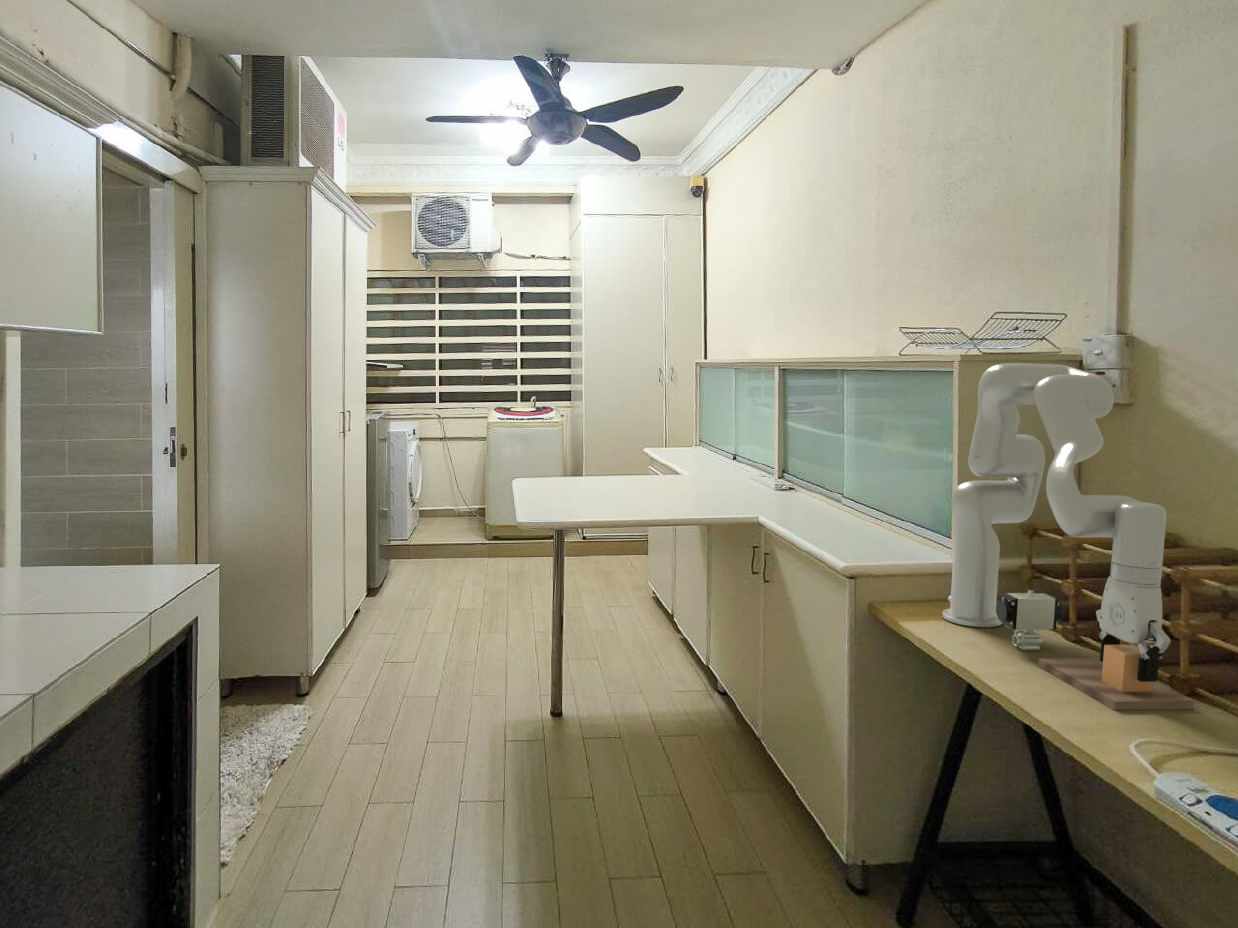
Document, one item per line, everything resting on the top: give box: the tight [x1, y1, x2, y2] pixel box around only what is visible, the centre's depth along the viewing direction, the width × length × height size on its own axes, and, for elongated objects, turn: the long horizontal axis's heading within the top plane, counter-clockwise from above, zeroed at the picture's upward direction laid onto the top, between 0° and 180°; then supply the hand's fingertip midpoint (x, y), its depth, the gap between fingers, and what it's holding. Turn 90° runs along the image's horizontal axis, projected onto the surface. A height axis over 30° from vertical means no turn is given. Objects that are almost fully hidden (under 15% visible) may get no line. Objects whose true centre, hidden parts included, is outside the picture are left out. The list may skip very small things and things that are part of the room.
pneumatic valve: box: [995, 589, 1064, 652], centre depth 177 cm, size 6×12×12 cm, turn 93°
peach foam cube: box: [1101, 644, 1152, 692], centre depth 152 cm, size 5×5×6 cm
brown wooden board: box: [1037, 657, 1195, 711], centre depth 156 cm, size 22×14×6 cm, turn 6°
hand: (1127, 671), depth 152 cm, fingers open, 9 cm apart
